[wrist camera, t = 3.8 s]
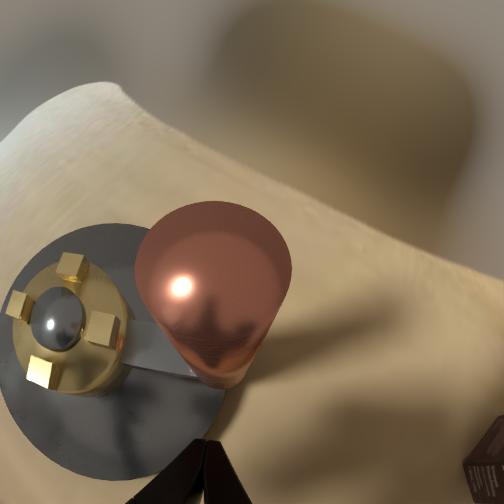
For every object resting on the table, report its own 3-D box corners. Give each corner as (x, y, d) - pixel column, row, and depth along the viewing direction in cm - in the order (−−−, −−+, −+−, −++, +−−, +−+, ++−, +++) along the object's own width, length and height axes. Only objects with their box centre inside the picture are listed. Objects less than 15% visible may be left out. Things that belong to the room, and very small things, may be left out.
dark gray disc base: (136, 524, 9) (129, 531, 7) (-21, 351, 12) (-31, 346, 11) (282, 312, 17) (286, 304, 16) (99, 202, 21) (95, 191, 20)
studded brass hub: (31, 377, 11) (-102, 306, 3) (57, 277, 15) (-30, 158, 6) (242, 430, 12) (285, 475, 3) (251, 305, 16) (288, 149, 7)
